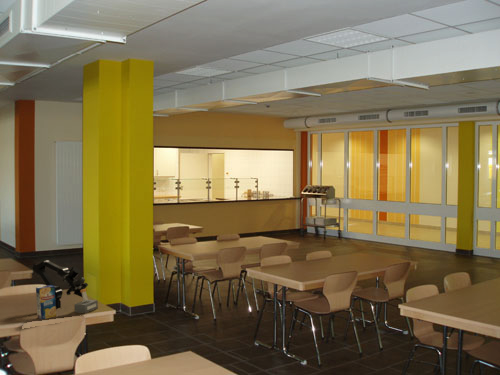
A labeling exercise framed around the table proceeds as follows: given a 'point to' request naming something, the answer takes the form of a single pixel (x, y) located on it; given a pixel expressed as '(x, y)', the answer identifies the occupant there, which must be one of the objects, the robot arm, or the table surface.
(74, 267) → the robot arm
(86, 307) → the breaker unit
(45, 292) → the blue cracker box
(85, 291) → the breaker lever
